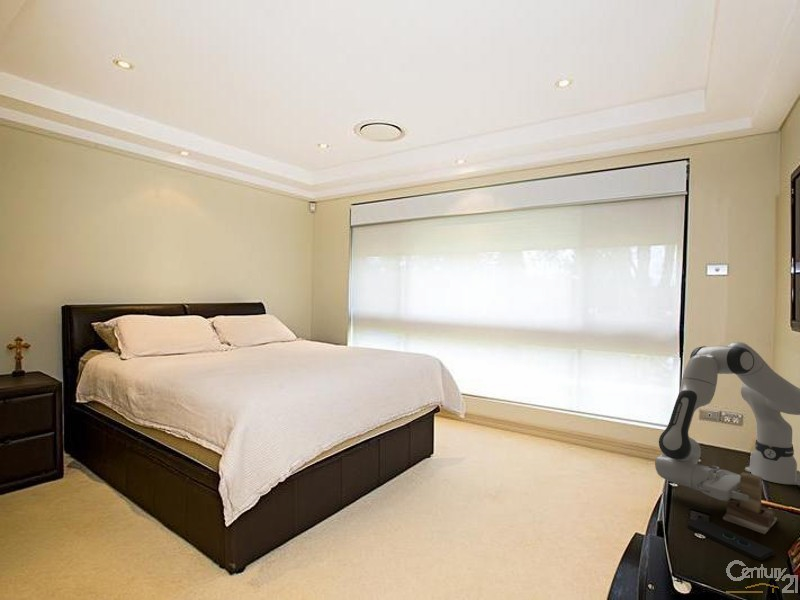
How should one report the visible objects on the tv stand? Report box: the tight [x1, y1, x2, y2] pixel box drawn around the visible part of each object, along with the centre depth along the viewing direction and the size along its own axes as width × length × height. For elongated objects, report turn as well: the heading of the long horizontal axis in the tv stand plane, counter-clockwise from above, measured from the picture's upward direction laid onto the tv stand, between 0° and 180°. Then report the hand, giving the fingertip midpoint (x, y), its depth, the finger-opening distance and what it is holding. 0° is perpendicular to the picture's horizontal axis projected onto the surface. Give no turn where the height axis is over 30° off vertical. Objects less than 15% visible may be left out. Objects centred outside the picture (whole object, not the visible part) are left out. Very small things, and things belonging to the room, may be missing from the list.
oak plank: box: [739, 471, 763, 514], centre depth 145 cm, size 3×5×14 cm, turn 37°
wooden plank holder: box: [722, 499, 778, 535], centre depth 145 cm, size 14×11×4 cm
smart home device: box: [687, 518, 774, 561], centre depth 133 cm, size 8×2×20 cm
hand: (753, 494), depth 145 cm, fingers open, 8 cm apart
